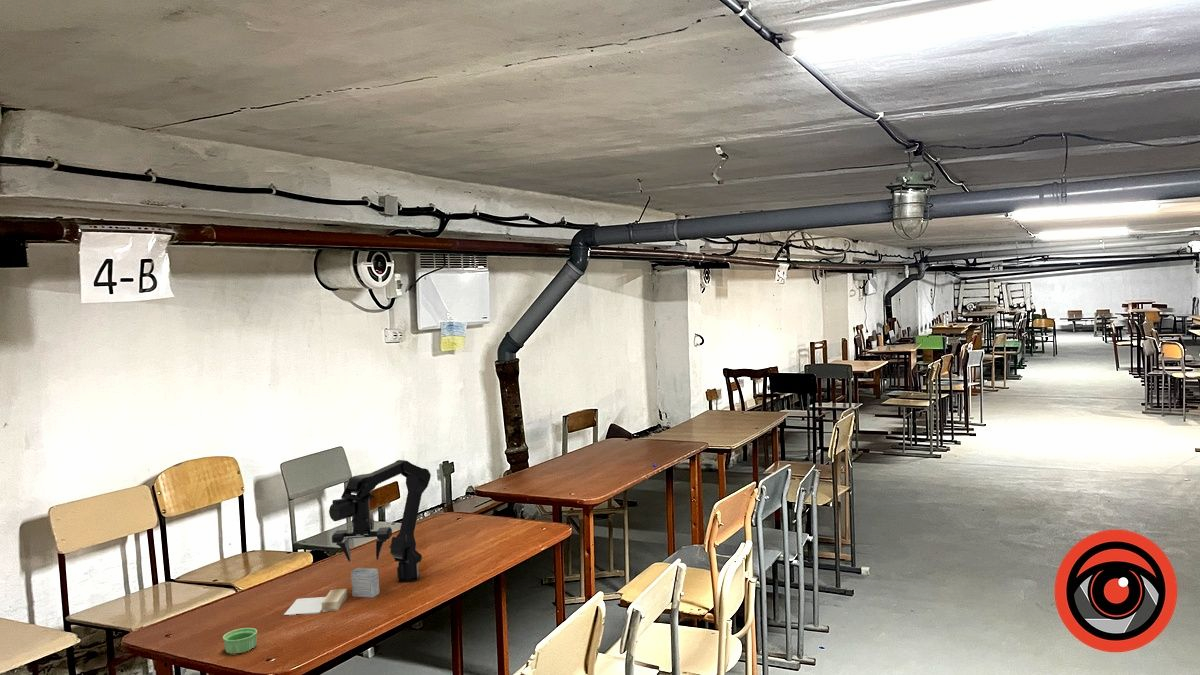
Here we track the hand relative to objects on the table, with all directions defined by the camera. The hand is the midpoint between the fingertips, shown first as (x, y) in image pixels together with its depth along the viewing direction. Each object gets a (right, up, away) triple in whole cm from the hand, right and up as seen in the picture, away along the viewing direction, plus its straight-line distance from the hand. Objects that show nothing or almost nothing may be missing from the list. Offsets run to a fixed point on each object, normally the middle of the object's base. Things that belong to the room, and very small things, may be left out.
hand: (363, 560), depth 269 cm
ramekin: (-23, -15, -40) cm, 48 cm away
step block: (-7, -12, -7) cm, 16 cm away
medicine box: (+1, -12, 0) cm, 12 cm away
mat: (-16, -13, -8) cm, 22 cm away
